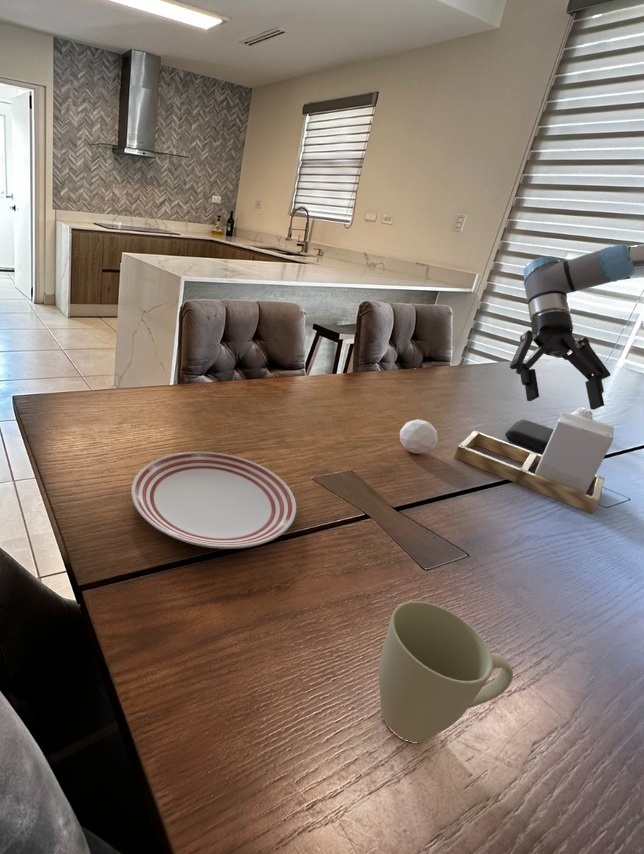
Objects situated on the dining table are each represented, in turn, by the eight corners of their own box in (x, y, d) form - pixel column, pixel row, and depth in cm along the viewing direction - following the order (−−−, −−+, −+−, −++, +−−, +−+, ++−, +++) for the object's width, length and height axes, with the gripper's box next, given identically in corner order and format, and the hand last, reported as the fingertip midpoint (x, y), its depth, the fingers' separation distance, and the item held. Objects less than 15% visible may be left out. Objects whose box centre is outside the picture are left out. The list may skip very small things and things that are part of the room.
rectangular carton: (584, 488, 101) (616, 425, 95) (581, 504, 94) (615, 438, 88) (535, 469, 106) (562, 409, 100) (528, 484, 99) (558, 420, 94)
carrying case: (550, 458, 112) (562, 442, 122) (556, 447, 111) (567, 431, 121) (501, 440, 119) (516, 425, 128) (505, 429, 117) (520, 416, 127)
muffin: (559, 429, 130) (570, 406, 127) (564, 424, 134) (575, 401, 131) (586, 438, 126) (598, 415, 123) (591, 433, 130) (602, 410, 127)
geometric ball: (419, 464, 108) (448, 450, 101) (391, 450, 106) (418, 435, 100) (418, 437, 112) (445, 422, 106) (391, 423, 111) (416, 407, 105)
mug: (431, 797, 43) (476, 712, 38) (343, 705, 50) (372, 624, 46) (484, 731, 49) (529, 651, 45) (400, 657, 57) (431, 581, 52)
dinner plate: (99, 489, 81) (100, 473, 79) (216, 450, 98) (218, 435, 96) (203, 594, 62) (206, 575, 61) (325, 523, 79) (330, 507, 78)
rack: (598, 489, 101) (604, 477, 99) (592, 514, 91) (599, 501, 90) (470, 440, 116) (474, 430, 115) (453, 457, 107) (458, 446, 106)
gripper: (591, 333, 112) (609, 416, 104) (486, 319, 113) (495, 401, 105) (618, 316, 105) (640, 404, 97) (506, 302, 106) (518, 388, 98)
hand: (565, 403), depth 101 cm, fingers open, 13 cm apart
